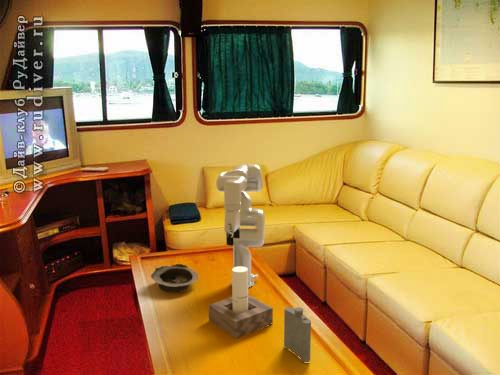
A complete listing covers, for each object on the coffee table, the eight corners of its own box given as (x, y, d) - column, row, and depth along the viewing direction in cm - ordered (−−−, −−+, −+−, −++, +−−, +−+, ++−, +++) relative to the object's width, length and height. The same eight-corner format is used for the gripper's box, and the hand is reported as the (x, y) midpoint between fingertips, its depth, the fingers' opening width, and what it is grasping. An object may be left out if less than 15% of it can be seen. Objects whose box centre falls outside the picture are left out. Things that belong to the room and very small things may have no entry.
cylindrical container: (246, 324, 227) (246, 272, 222) (231, 323, 229) (230, 271, 223) (249, 317, 234) (249, 266, 229) (234, 315, 235) (234, 265, 230)
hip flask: (282, 346, 210) (283, 302, 206) (290, 343, 212) (291, 300, 208) (305, 364, 197) (306, 318, 193) (313, 361, 199) (314, 315, 195)
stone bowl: (156, 277, 283) (157, 262, 281) (200, 281, 283) (201, 265, 281) (146, 295, 259) (147, 278, 257) (194, 299, 259) (195, 282, 257)
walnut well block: (244, 308, 246) (244, 292, 244) (272, 324, 229) (272, 308, 228) (209, 320, 233) (208, 304, 231) (235, 338, 217) (235, 321, 215)
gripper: (230, 200, 239) (231, 234, 243) (218, 211, 222) (219, 247, 227) (245, 201, 237) (246, 236, 241) (234, 212, 220) (235, 248, 225)
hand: (233, 241), depth 234 cm, fingers open, 9 cm apart
